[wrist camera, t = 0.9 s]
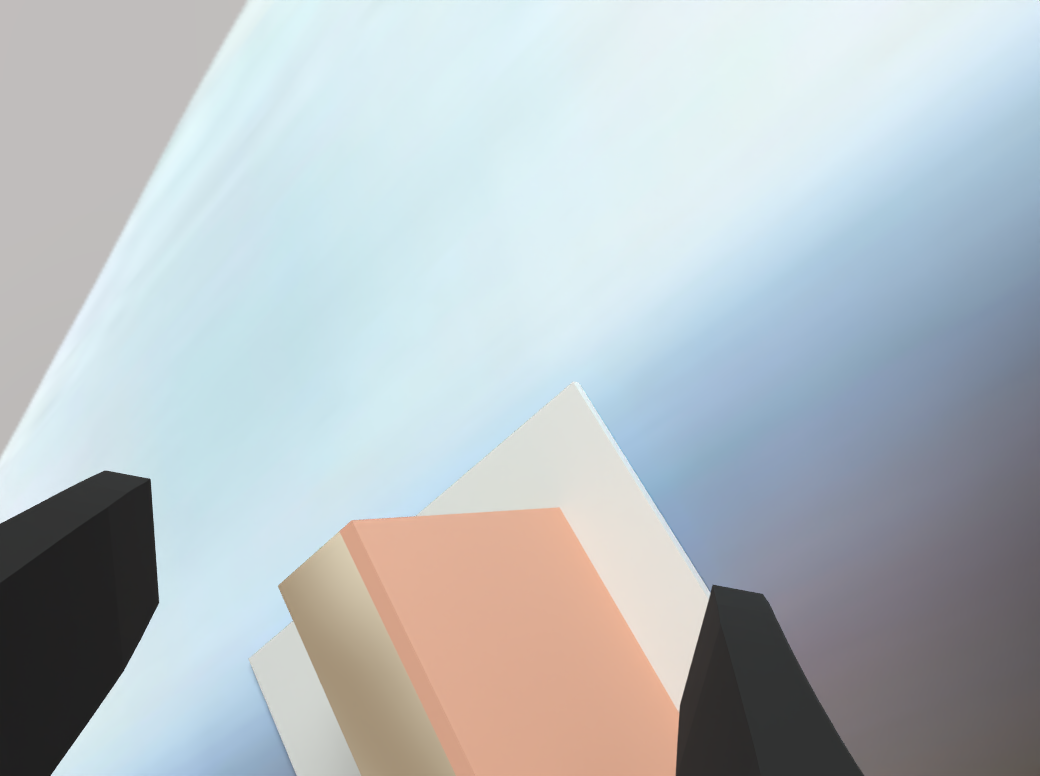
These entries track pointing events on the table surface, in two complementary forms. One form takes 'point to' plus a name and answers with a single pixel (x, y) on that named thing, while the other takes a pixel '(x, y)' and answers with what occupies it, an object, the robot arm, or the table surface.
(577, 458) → the rubber mat
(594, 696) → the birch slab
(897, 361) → the table surface
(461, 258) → the table surface
